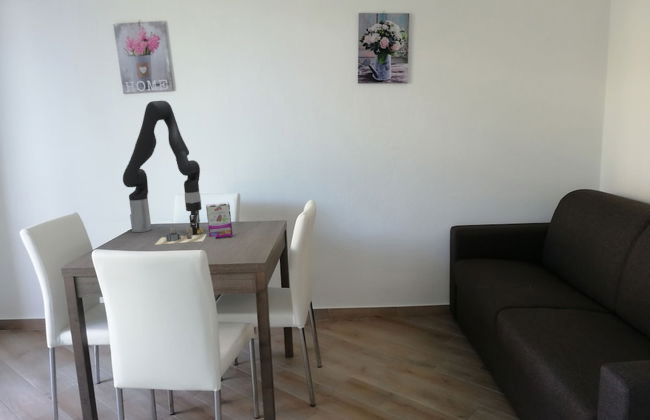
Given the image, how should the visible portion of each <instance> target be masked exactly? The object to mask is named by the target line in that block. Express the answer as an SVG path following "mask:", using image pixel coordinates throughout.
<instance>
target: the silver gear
mask: <svg viewBox="0 0 650 420" xmlns="http://www.w3.org/2000/svg"><path fill="white" fill-rule="evenodd" d="M181 236H182V235H181V232H179V231H175V234H173V235H171V233H170V232H169V233H166V234H165V237H166V241H169V242H171V241H177V240H180V239H181Z"/></svg>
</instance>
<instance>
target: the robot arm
mask: <svg viewBox="0 0 650 420" xmlns="http://www.w3.org/2000/svg"><path fill="white" fill-rule="evenodd" d="M159 121H163V122H164V123H165V125H166V127H167V133H168V136H167V137H168V144H169V147H170V149H171V150H172V152H173V155H174V156H175V160H176V165H177V168H178V171H179V172H180V174H181V175H183V176H184V177H187V178H186V180H184V183H183V188H184V203H185V211H186V212H190V214H189V215H188V216H189V224H190V225H189V226H191V229H192V232H193V234H192V235H198V234H197V228H200V222H201V219H200V211H201V210H202V200H201V199H202V198H201V193H200V186H199V183H200V182H199V181H200V175H201V172H200V171H201V167H200V163H199V162H197V160H193V159H192V160H189V158H188V156H190V155H189V154H190V151H189V148H188V147H187V145H186V143H185V141H184V139H183V137H182V134H181V131H180V128H179V126H178V122H177V120H176V117H175V113H174V111H173V108H172V105H170V103H169V102H168V101H166V100H153V101H152V100H151V101H150V102H148V103H147V104H146V107H145V110H144V114H143V120H142V124H141V127H140V130H139V133H138V137H137V139H136V141H135V145H134V148H133V151H132V153H131V156H130V159H129V160H128V161H129V162H128V164H127V165H126V167H125V170H124V171H123V175H122V182H123V185H124V186H125V187H126V188H135V190H133V191H132V192H131V193H129V195H128V199H129V200H128V201H129V209H130V214H129V217H130V225H131V232H132V233H142V232H148V231H151V230H152V224H151V223H152V222H151V215H150V214H151V213H150V207H149V206H150V205H149V199H148V198H149V197H148V194H149V187H148V183H149V182H148V176H147V172H146V171H145V170H144V169H143V168H141V167H142V166H144V164H145V163H147V161H148V160H149V159H150V158H151V157H152V156H153V154H154V152H155V149H156V146H157V137H156V134H155V129H156V125H157V123H158V122H159Z"/></svg>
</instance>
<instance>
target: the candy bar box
mask: <svg viewBox="0 0 650 420" xmlns="http://www.w3.org/2000/svg"><path fill="white" fill-rule="evenodd" d="M205 210H206V217H207V227H208V235H209V237H210V238H212V237H215V239H221V238H223V239H224V238H230V237H233V226H232V218H231V216H232V215H231V205H230V203H229V202H221V203H220V202H219V203H212V204H206V205H205Z"/></svg>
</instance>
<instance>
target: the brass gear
mask: <svg viewBox="0 0 650 420" xmlns="http://www.w3.org/2000/svg"><path fill="white" fill-rule="evenodd" d="M203 232H204V229H203V227H202V228H201V227H199V228H197V235H200V234H202V233H203ZM191 234H192V235H193V232H192V228H191ZM203 234H204V233H203Z"/></svg>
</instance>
